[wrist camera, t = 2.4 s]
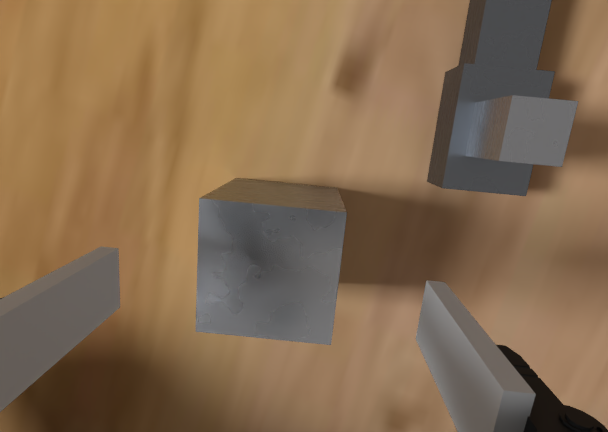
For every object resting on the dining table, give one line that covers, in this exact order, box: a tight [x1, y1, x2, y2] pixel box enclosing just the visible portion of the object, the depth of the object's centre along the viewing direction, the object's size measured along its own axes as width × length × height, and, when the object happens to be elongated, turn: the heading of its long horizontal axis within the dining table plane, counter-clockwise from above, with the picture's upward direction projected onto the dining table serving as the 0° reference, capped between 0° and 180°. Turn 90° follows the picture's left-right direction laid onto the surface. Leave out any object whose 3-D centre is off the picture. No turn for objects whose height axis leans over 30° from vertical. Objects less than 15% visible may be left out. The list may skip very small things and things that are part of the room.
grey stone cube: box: [196, 178, 347, 345], centre depth 22 cm, size 7×7×8 cm
